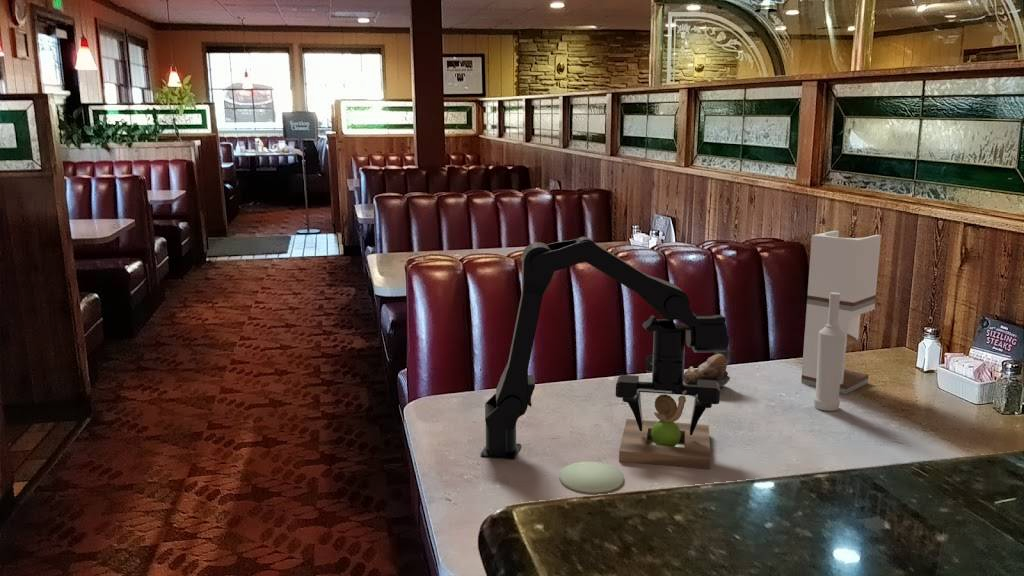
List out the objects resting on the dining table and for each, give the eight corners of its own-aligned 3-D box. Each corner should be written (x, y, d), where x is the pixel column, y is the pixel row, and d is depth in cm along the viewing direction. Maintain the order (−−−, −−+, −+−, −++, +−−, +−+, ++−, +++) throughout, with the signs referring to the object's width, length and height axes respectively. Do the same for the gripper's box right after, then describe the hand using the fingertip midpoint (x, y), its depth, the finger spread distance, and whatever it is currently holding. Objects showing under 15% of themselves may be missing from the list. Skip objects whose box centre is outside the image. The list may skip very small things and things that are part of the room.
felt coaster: (620, 495, 128) (620, 492, 128) (554, 489, 131) (554, 486, 131) (626, 467, 139) (626, 464, 139) (564, 462, 141) (564, 459, 141)
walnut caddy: (709, 469, 138) (710, 458, 138) (618, 461, 142) (619, 450, 141) (708, 434, 153) (708, 425, 153) (626, 428, 157) (626, 418, 156)
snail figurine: (677, 457, 143) (679, 395, 141) (645, 448, 147) (647, 388, 145) (689, 447, 147) (692, 387, 145) (658, 439, 151) (660, 380, 149)
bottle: (835, 403, 170) (844, 290, 165) (842, 411, 165) (851, 296, 160) (810, 402, 171) (818, 290, 166) (817, 410, 166) (825, 295, 160)
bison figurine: (691, 397, 175) (693, 353, 173) (673, 387, 181) (675, 345, 179) (735, 390, 179) (737, 347, 177) (716, 381, 186) (718, 340, 183)
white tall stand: (845, 394, 176) (858, 240, 168) (801, 383, 183) (811, 235, 176) (867, 383, 183) (881, 234, 176) (824, 372, 191) (835, 230, 184)
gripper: (719, 343, 149) (715, 420, 152) (621, 338, 153) (619, 413, 157) (721, 360, 139) (717, 442, 142) (616, 354, 143) (614, 434, 146)
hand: (665, 432), depth 147 cm, fingers open, 9 cm apart
